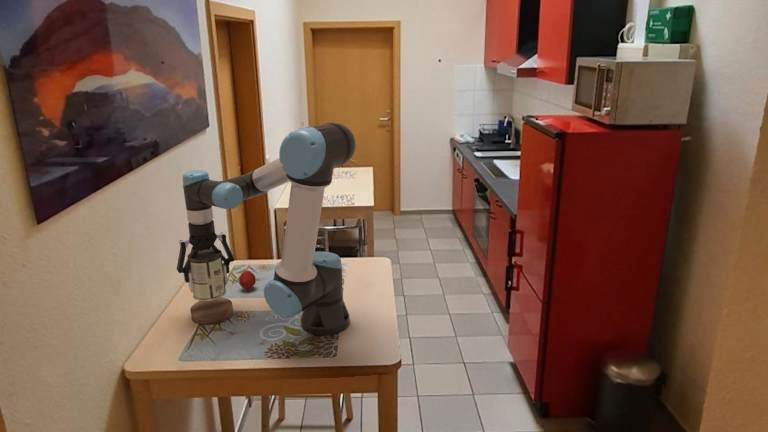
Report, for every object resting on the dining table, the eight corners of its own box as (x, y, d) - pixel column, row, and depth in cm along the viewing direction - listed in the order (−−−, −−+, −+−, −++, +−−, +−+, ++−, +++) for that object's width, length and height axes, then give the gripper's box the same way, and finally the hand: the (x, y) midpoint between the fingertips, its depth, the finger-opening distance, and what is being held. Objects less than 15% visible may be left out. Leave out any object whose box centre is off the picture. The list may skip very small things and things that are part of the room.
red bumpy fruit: (242, 286, 193) (240, 265, 191) (258, 286, 193) (256, 265, 191) (238, 293, 188) (235, 272, 185) (254, 293, 188) (252, 272, 185)
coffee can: (200, 287, 176) (195, 247, 172) (231, 288, 175) (226, 248, 171) (187, 301, 166) (181, 259, 162) (218, 302, 165) (213, 260, 161)
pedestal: (238, 317, 171) (237, 308, 170) (197, 328, 164) (195, 319, 163) (226, 302, 181) (225, 294, 180) (187, 312, 175) (186, 303, 174)
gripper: (233, 211, 172) (239, 274, 179) (159, 224, 160) (169, 291, 167) (240, 217, 166) (247, 282, 173) (164, 230, 154) (174, 300, 161)
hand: (208, 286), depth 170 cm, fingers closed on coffee can, 10 cm apart
